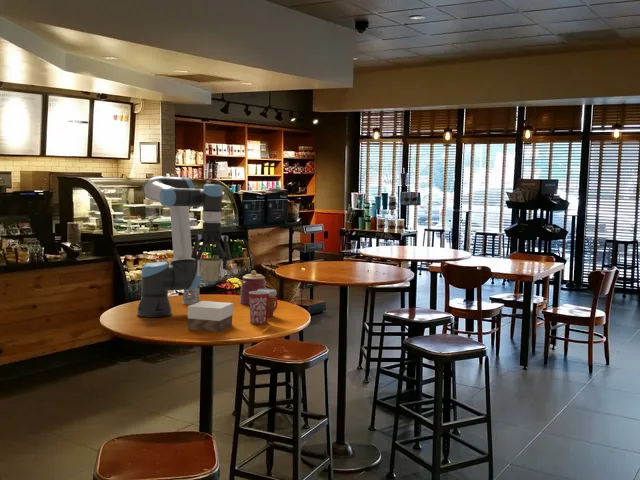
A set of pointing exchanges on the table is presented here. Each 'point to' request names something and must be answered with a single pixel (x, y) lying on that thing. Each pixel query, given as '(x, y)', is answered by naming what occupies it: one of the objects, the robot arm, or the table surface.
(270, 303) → the disposable coffee cup
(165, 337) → the table surface
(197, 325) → the tower base
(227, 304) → the tower top
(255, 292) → the mug
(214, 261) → the flower pot
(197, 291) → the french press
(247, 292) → the canister
